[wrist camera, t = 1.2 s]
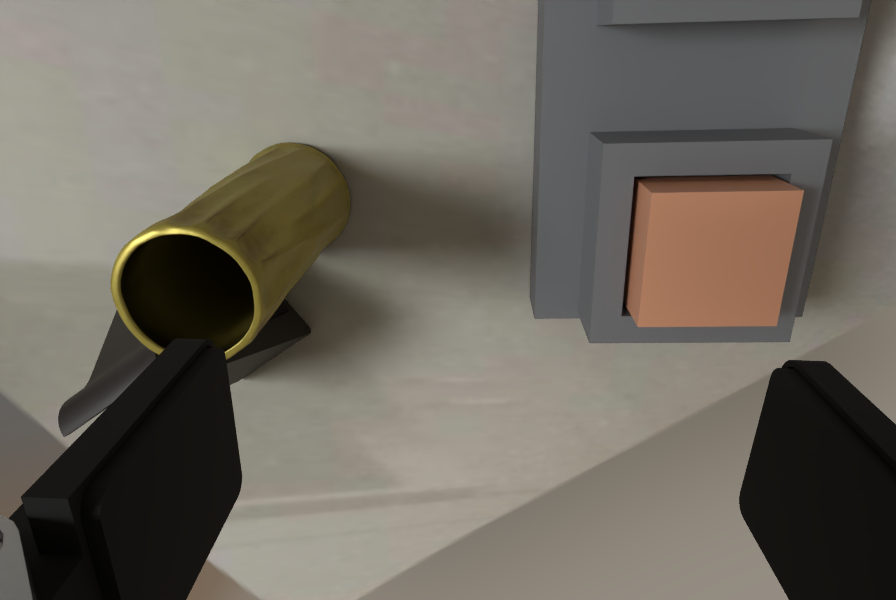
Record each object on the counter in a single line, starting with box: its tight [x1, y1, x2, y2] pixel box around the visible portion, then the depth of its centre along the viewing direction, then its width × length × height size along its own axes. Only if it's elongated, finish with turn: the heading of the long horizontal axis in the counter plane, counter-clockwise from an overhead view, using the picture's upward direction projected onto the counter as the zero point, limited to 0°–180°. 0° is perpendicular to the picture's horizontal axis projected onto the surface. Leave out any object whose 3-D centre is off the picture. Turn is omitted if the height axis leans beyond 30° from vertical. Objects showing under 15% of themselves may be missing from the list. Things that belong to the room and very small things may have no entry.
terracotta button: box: [623, 175, 804, 327], centre depth 27 cm, size 6×6×3 cm
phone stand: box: [58, 298, 311, 437], centre depth 31 cm, size 9×6×12 cm, turn 35°
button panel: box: [530, 0, 871, 343], centre depth 28 cm, size 24×14×6 cm, turn 1°
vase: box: [111, 143, 350, 359], centre depth 28 cm, size 6×6×14 cm
